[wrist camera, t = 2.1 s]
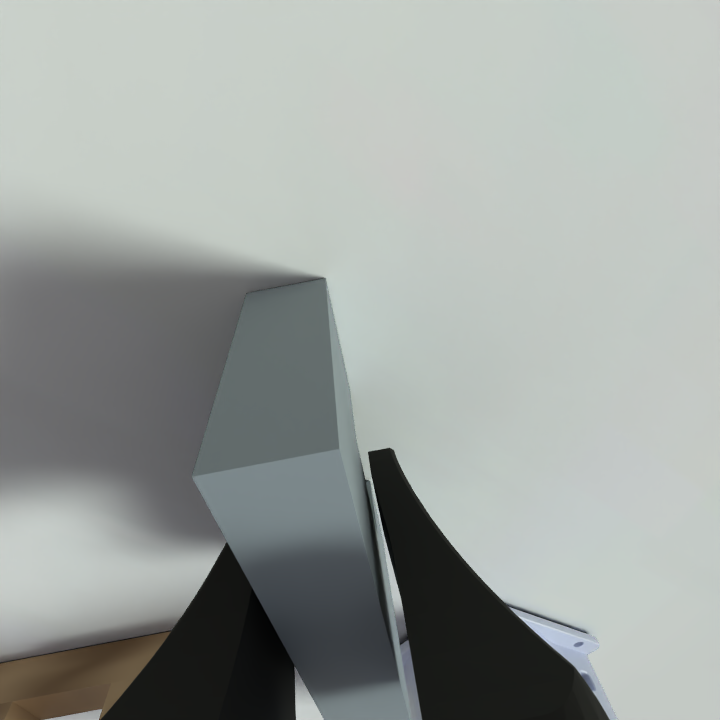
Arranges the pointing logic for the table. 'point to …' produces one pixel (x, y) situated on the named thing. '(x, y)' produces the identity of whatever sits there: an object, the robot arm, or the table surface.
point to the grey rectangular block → (304, 502)
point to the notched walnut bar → (73, 679)
